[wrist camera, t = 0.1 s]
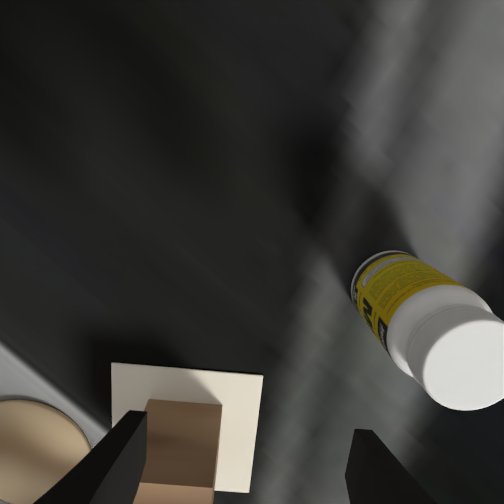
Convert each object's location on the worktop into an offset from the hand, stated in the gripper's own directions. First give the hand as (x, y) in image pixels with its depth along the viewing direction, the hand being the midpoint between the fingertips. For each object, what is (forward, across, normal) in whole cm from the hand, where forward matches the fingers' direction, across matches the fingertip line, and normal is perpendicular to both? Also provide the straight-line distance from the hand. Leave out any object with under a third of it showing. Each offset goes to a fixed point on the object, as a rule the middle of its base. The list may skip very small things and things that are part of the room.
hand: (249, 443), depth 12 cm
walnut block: (+10, +4, +9) cm, 14 cm away
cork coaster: (+10, +15, +12) cm, 22 cm away
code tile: (+10, +4, +9) cm, 14 cm away
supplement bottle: (+10, -8, -3) cm, 13 cm away
